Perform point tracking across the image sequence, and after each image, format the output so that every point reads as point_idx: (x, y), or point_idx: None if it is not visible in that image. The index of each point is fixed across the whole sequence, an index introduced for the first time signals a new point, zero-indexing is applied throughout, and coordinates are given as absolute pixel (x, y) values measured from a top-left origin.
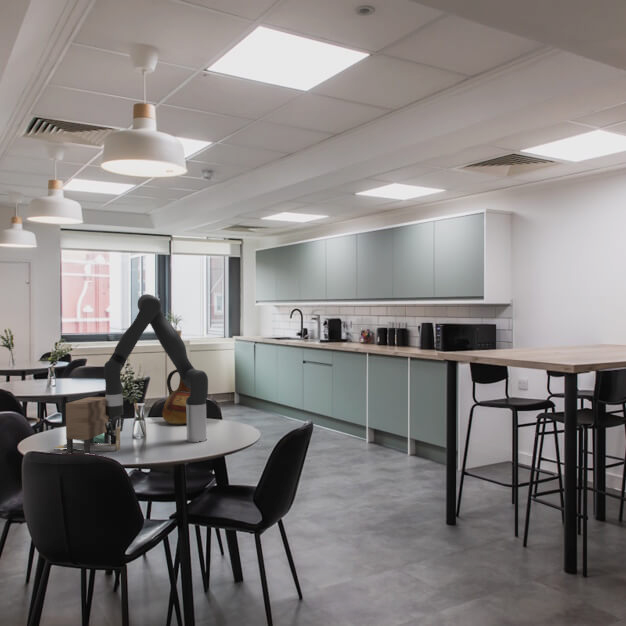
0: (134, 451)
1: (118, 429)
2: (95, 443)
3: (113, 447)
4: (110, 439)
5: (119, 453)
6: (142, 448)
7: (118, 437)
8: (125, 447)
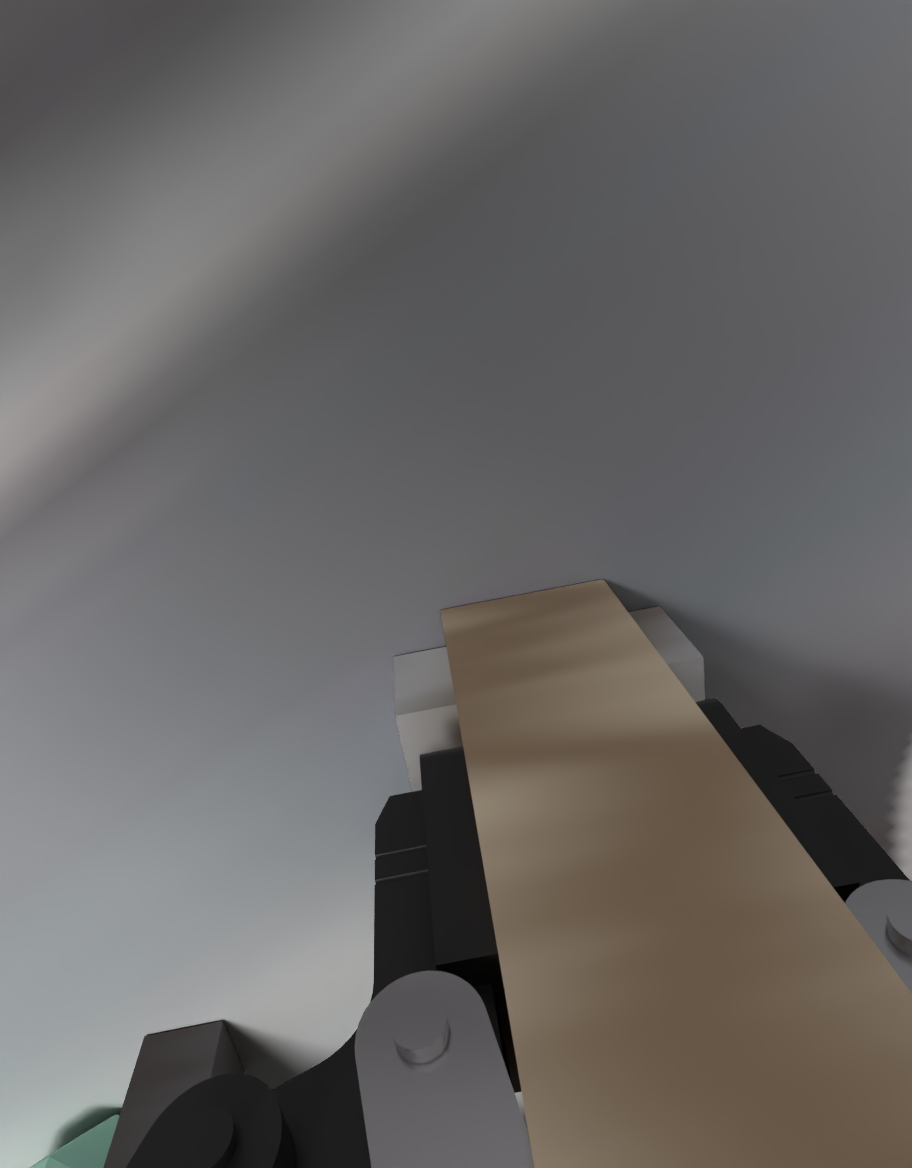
0: (580, 23)
1: (796, 1151)
2: None
3: (698, 671)
4: None
5: (863, 341)
6: (115, 8)
7: (629, 794)
8: (215, 622)
